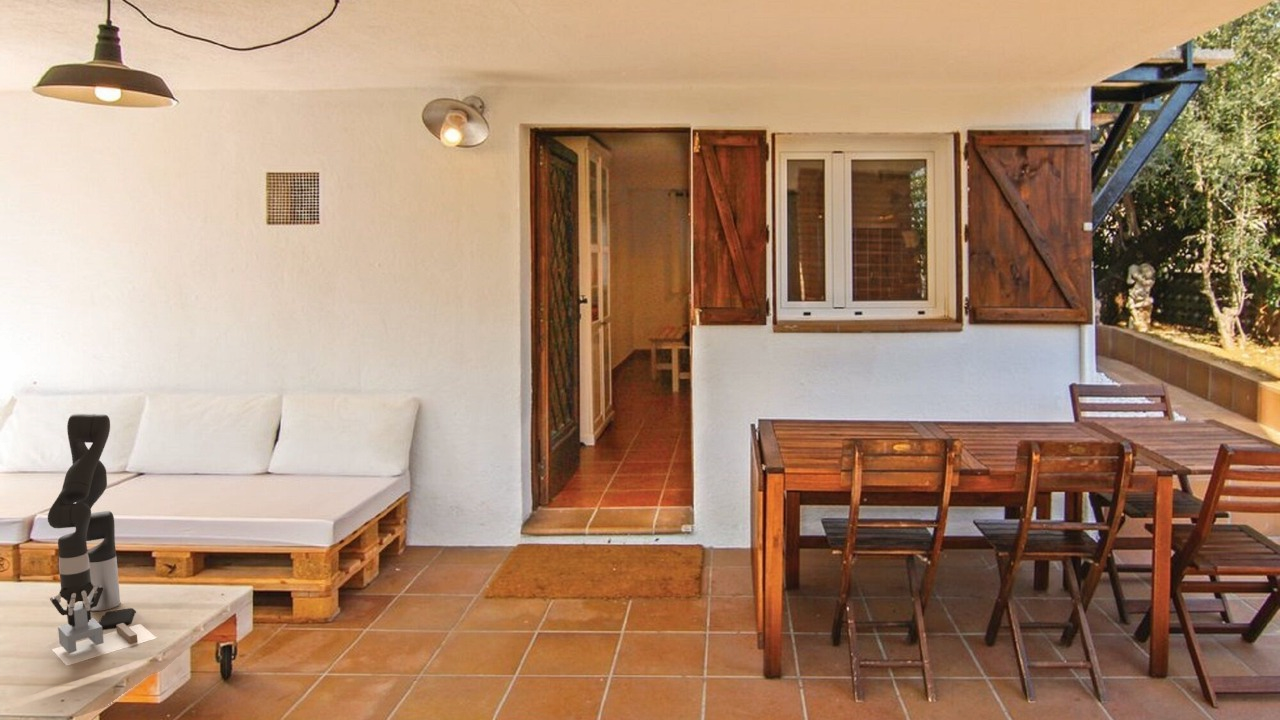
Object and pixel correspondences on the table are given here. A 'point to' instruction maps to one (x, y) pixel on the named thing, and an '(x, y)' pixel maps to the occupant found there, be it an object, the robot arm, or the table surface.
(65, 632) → the block
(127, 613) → the carrying case or bag
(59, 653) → the board
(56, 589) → the table surface
